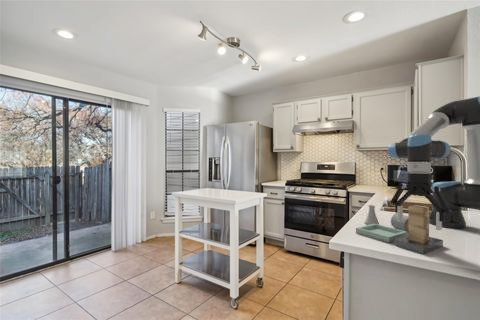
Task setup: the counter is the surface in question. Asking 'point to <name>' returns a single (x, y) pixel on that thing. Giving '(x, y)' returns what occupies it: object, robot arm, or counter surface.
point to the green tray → (381, 232)
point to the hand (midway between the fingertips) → (418, 225)
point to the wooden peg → (418, 223)
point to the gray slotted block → (418, 244)
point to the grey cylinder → (402, 224)
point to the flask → (371, 216)
